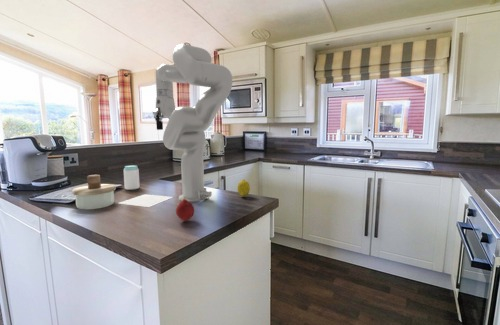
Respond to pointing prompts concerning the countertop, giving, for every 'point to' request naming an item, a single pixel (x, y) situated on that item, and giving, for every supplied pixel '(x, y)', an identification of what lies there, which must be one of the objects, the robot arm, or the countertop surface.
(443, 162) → the countertop surface
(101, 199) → the bowl
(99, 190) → the lid
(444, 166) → the countertop surface
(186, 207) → the onion
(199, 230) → the countertop surface
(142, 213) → the countertop surface
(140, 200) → the mat
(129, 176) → the can
